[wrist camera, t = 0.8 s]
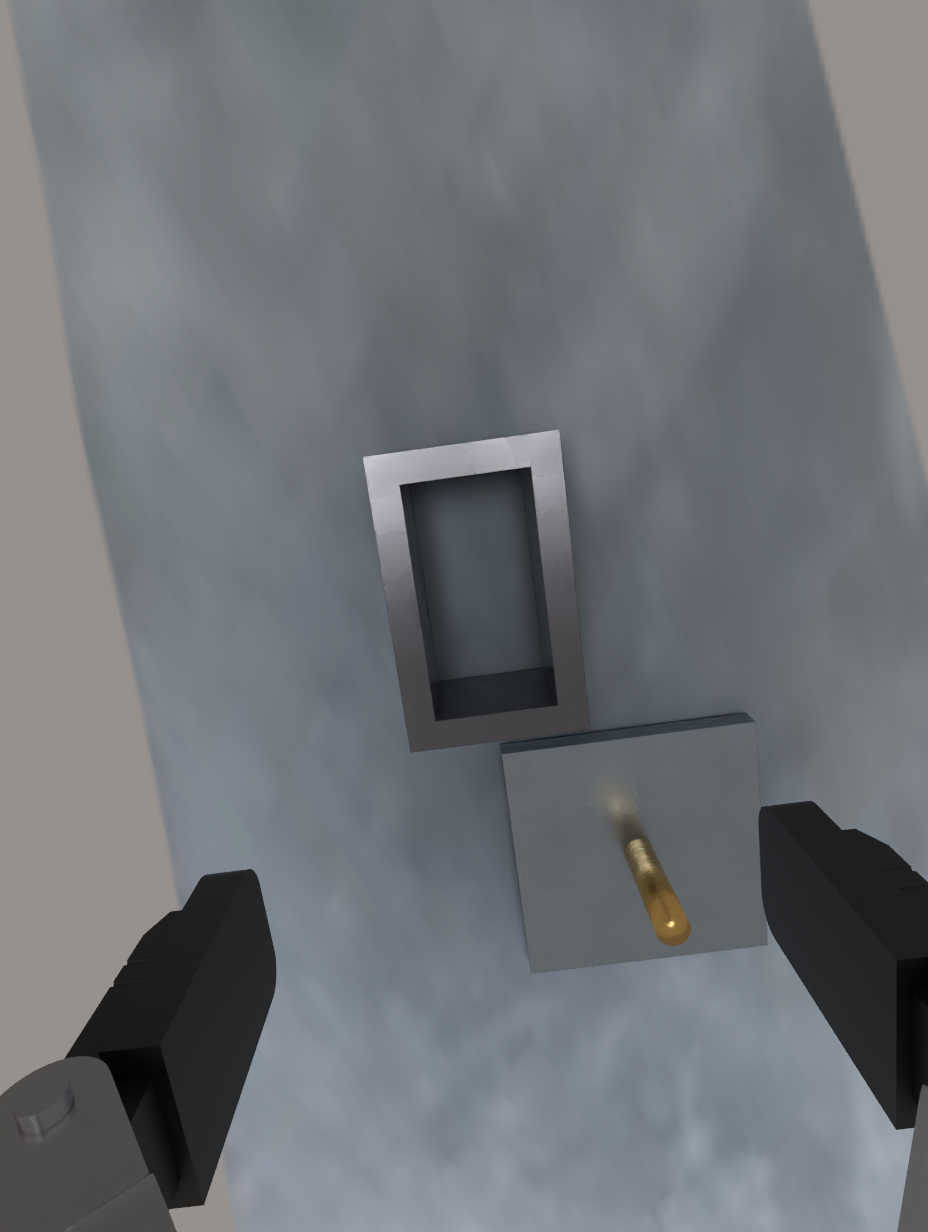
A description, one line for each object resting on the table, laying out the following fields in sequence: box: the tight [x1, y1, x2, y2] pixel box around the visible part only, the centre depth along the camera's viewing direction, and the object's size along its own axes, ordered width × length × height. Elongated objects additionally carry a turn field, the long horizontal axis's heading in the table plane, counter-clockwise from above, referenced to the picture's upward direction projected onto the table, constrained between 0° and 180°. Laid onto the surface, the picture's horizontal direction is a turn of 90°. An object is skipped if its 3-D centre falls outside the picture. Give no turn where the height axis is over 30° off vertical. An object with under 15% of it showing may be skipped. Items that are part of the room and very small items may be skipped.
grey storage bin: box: [363, 430, 590, 752], centre depth 26 cm, size 10×6×4 cm, turn 8°
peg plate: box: [501, 713, 768, 974], centre depth 28 cm, size 10×10×6 cm
